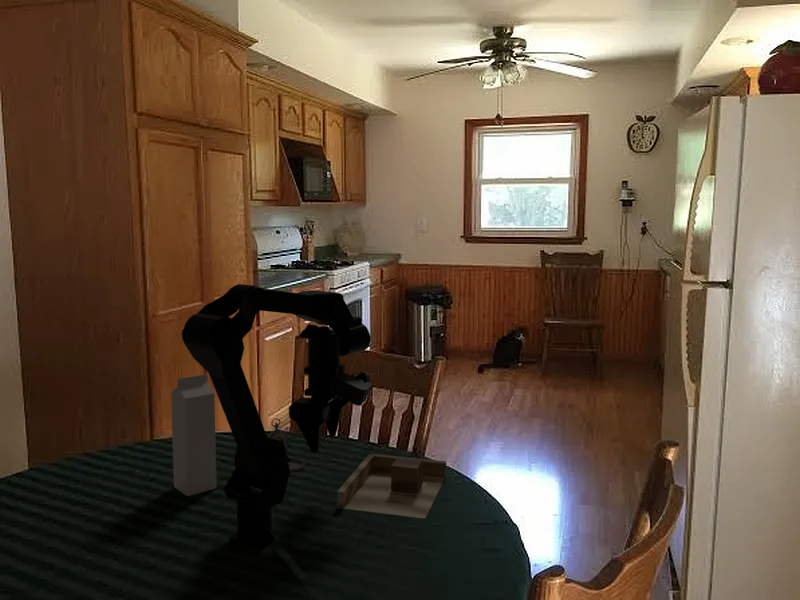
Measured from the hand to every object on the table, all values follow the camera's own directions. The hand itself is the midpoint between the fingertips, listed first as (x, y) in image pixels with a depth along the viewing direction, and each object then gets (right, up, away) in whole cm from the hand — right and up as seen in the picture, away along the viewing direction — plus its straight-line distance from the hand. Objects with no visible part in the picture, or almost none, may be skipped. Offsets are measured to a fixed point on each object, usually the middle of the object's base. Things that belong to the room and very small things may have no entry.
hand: (324, 443), depth 124 cm
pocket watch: (-10, -9, +18) cm, 23 cm away
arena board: (+13, -11, +4) cm, 17 cm away
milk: (-26, -10, +7) cm, 28 cm away
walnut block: (+15, -10, +6) cm, 19 cm away
